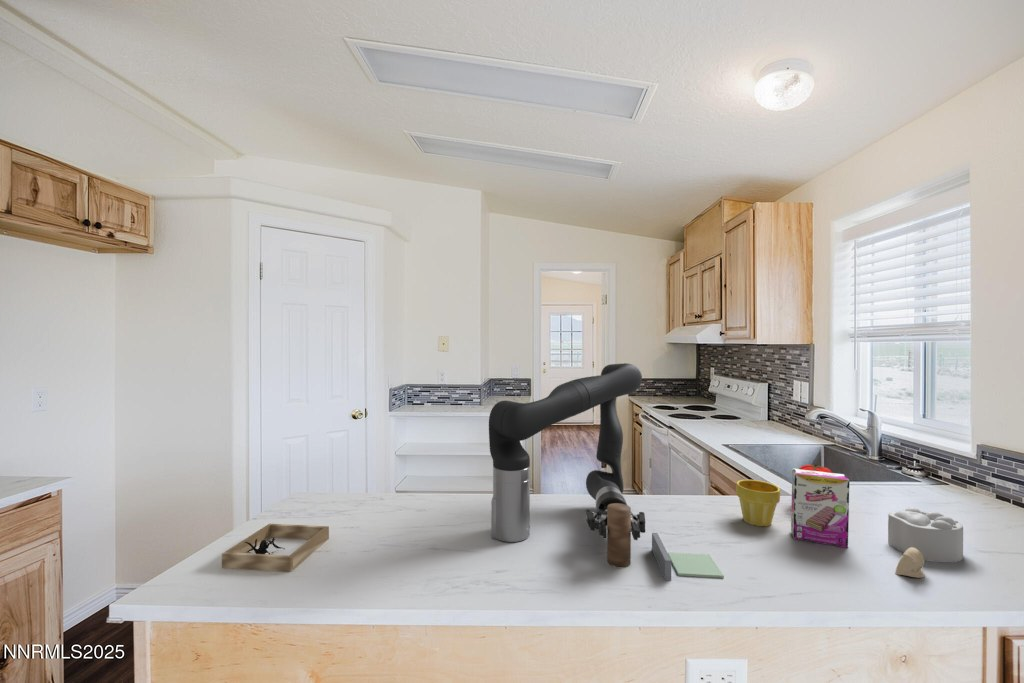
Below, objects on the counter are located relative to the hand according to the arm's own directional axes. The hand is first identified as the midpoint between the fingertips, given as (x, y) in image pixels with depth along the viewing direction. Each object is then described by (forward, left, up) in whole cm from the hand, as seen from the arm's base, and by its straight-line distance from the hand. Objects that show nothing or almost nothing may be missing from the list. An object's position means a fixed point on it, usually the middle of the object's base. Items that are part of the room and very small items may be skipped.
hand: (620, 534), depth 95 cm
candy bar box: (+50, +18, -7) cm, 54 cm away
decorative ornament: (+60, +4, -7) cm, 60 cm away
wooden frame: (-77, -2, -7) cm, 77 cm away
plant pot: (+40, +28, -7) cm, 50 cm away
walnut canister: (0, +2, -7) cm, 7 cm away
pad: (+16, +2, -7) cm, 18 cm away
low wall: (+9, +2, -7) cm, 12 cm away
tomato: (+60, +38, -7) cm, 72 cm away
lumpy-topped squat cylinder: (+72, +15, -7) cm, 74 cm away
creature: (-80, -3, -7) cm, 80 cm away
